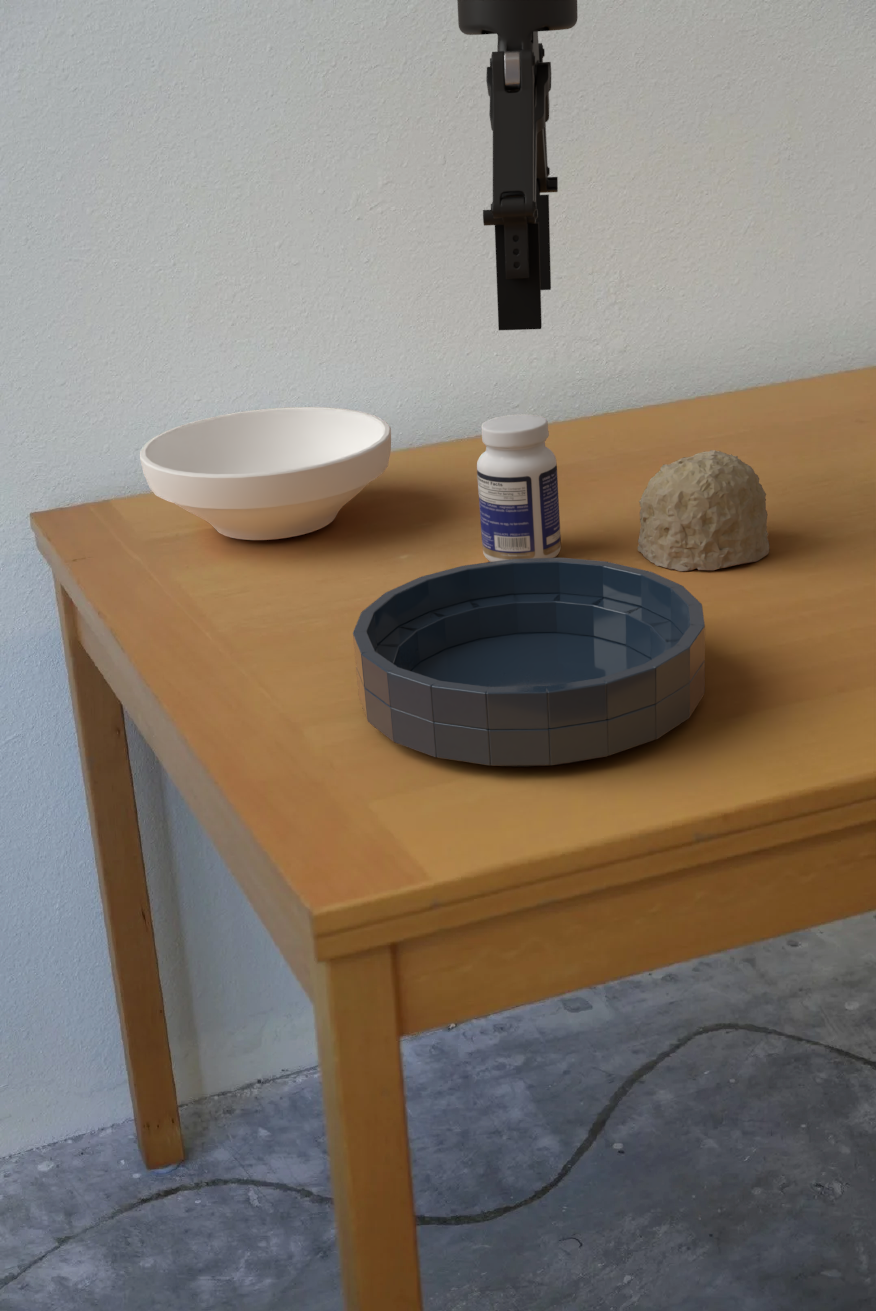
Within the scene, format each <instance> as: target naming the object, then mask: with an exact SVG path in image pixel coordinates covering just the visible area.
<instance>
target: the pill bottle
mask: <svg viewBox="0 0 876 1311" xmlns="http://www.w3.org/2000/svg"><path fill="white" fill-rule="evenodd" d="M480 429H481V442H482V443H483V444H484V446H485V451H483V452H482V453H481V455H480V456H479V457H478V458H477V461H476V479H477V490H478V491H477V493H478V506H479V518H480V532H481V533H480V534H481V546H482V553H483V556H484V558H485V559H486V560H487V561H488V562H494V561H501V560H509V559H529V558H557V556H558V555H559V554H560V551H561V549H562V536H561V521H560V520H561V517H560V516H561V515H560V500H559V498H560V497H559V481H558V478H559V477H558V464H557V457H556V455H555V453H554V452H553V451H552V449H550V448H549V447H547V446H546V441H547V440H548V439H549V436H550V433H549V423H548V419H547V418H546V417H544V416H543V415H540V414H539V415H538V414H532V413H531V414H530V413H514V414H506V415H500V416H495V417H492V418H489V419H487V420H486V421H484V422H482V424H481V428H480Z"/></svg>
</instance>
